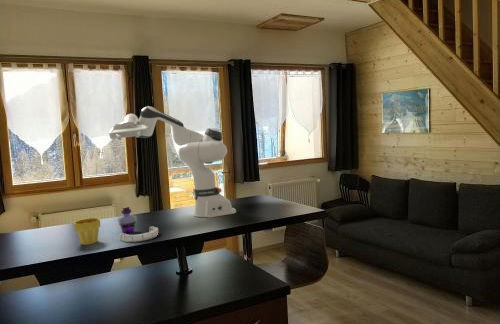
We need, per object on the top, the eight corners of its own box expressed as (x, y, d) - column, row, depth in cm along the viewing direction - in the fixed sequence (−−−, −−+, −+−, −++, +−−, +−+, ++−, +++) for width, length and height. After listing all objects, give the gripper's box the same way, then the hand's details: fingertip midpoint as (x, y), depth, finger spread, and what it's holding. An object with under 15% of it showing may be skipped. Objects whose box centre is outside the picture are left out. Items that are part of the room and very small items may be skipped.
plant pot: (87, 247, 168) (84, 224, 167) (71, 245, 173) (68, 222, 172) (107, 240, 177) (104, 218, 176) (91, 238, 182) (88, 217, 181)
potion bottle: (138, 233, 185) (135, 207, 184) (118, 235, 183) (115, 209, 182) (137, 229, 194) (135, 204, 193) (119, 231, 191) (116, 206, 190)
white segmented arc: (119, 239, 176) (119, 234, 176) (153, 231, 186) (152, 226, 186) (129, 244, 167) (129, 238, 167) (164, 235, 178) (164, 229, 177)
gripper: (149, 131, 228) (149, 140, 216) (112, 135, 225) (109, 145, 213) (147, 120, 226) (147, 129, 213) (110, 125, 222) (107, 134, 210)
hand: (128, 137), depth 213 cm, fingers open, 8 cm apart
